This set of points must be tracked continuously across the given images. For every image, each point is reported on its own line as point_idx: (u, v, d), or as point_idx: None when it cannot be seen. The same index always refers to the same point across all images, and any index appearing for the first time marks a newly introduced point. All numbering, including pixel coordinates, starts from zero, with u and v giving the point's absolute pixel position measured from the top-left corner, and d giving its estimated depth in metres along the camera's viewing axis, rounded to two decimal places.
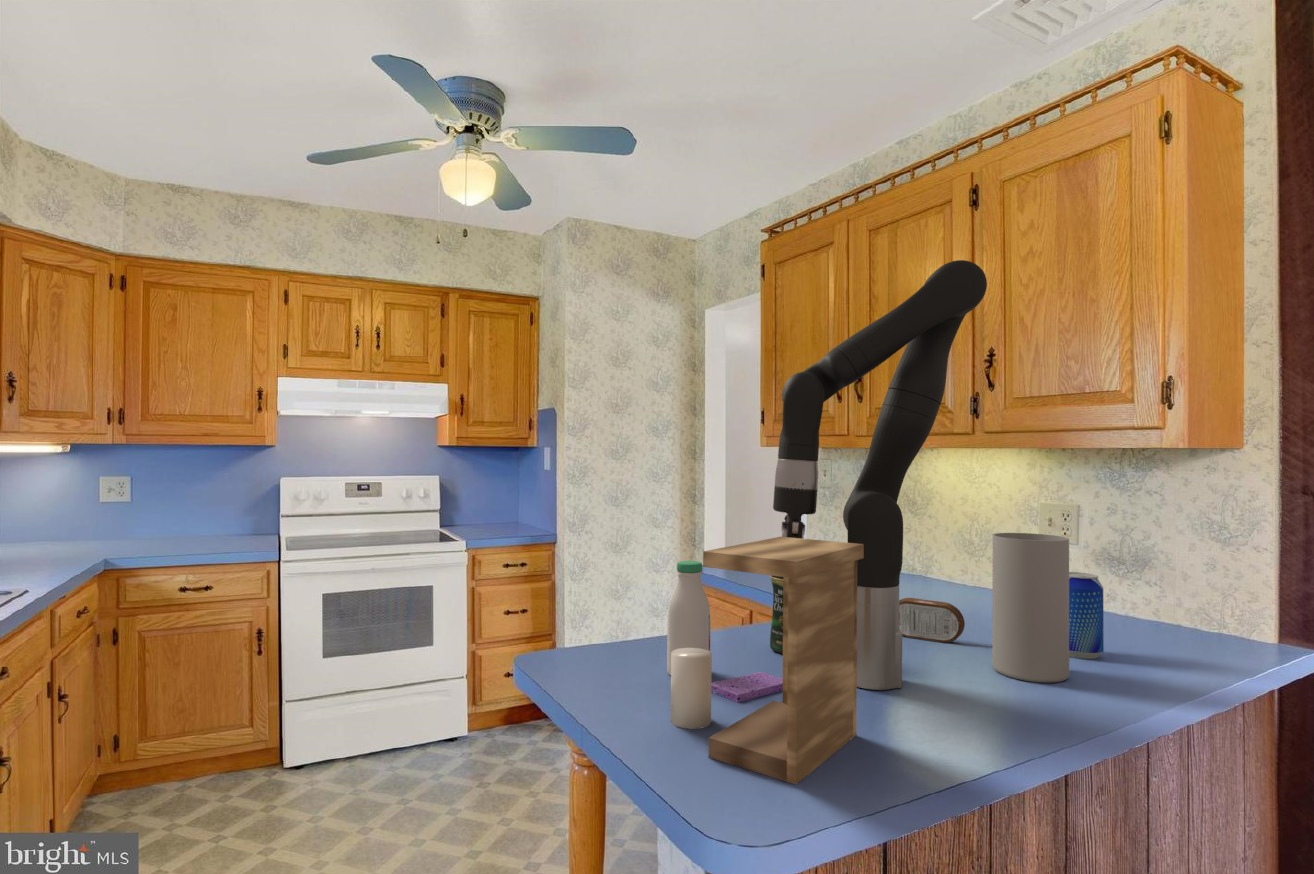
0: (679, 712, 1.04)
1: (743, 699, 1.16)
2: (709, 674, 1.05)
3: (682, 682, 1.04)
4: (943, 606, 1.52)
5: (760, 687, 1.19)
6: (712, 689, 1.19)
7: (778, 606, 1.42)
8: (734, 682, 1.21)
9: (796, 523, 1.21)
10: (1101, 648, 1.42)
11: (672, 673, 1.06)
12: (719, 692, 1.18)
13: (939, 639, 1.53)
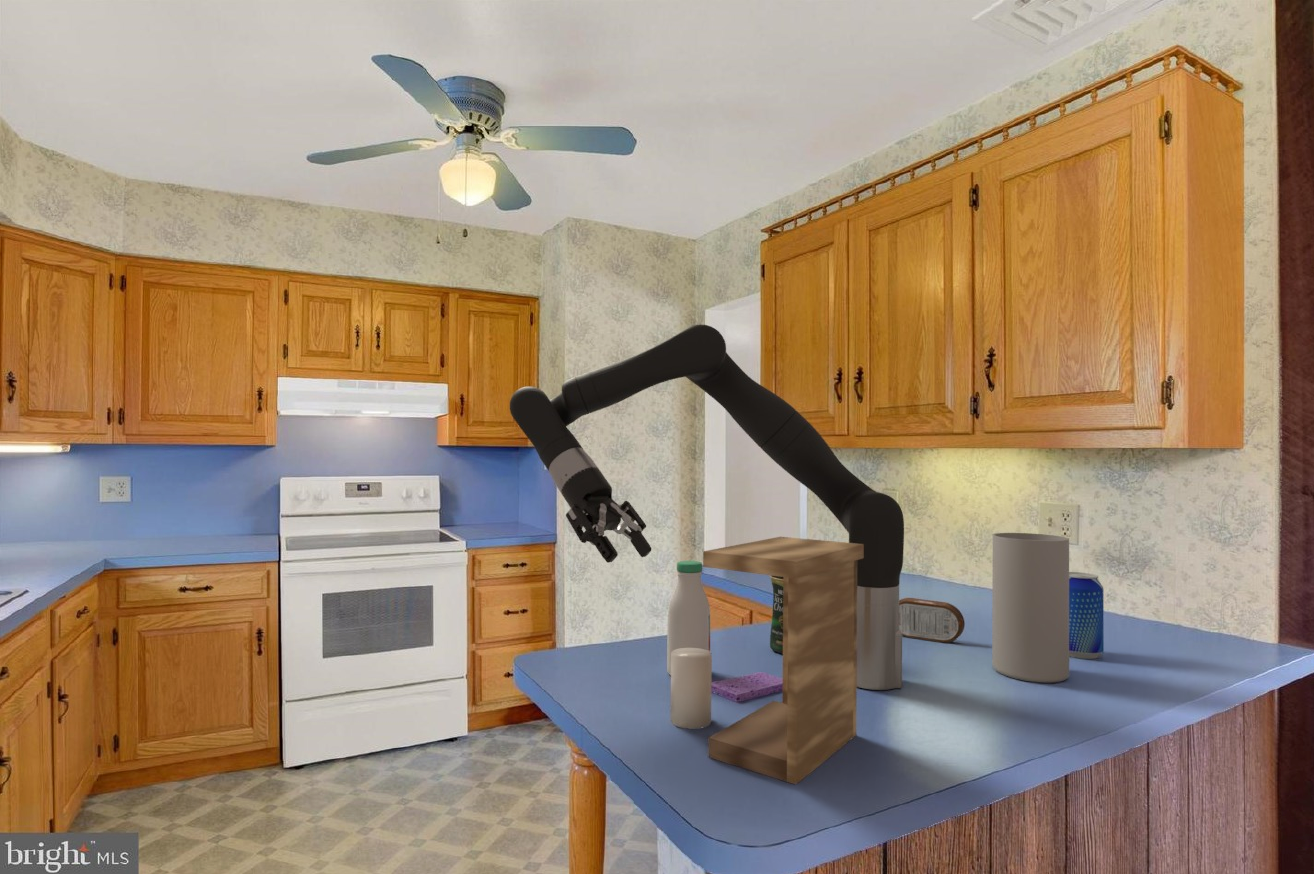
0: (679, 712, 1.04)
1: (742, 699, 1.16)
2: (709, 674, 1.05)
3: (682, 682, 1.04)
4: (943, 606, 1.52)
5: (760, 687, 1.19)
6: (712, 689, 1.20)
7: (778, 606, 1.42)
8: (734, 682, 1.21)
9: (570, 509, 1.13)
10: (1101, 648, 1.42)
11: (672, 673, 1.06)
12: (718, 692, 1.18)
13: (939, 639, 1.53)
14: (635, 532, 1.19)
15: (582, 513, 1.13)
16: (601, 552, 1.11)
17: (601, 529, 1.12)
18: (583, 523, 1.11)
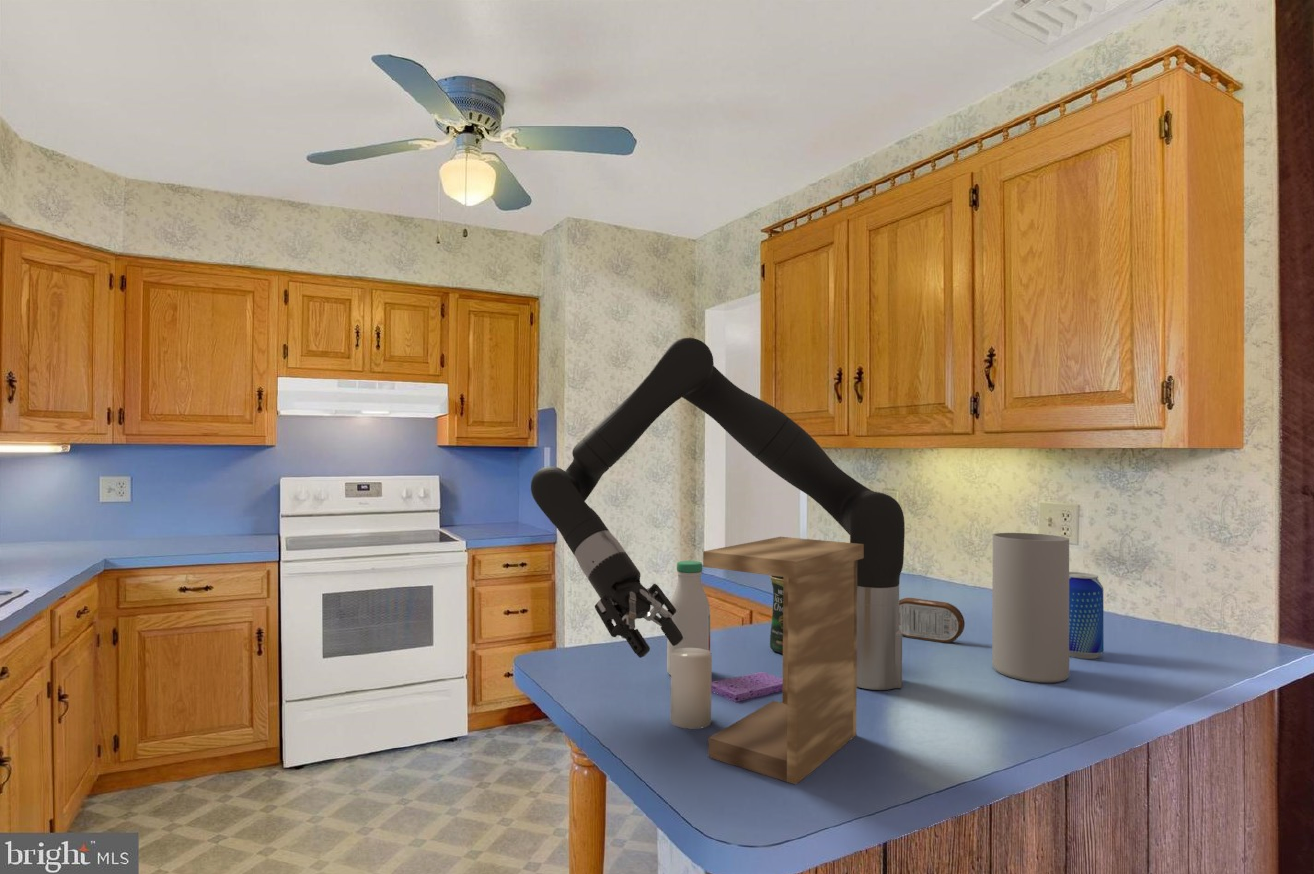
0: (679, 712, 1.04)
1: (741, 699, 1.16)
2: (709, 674, 1.05)
3: (683, 682, 1.04)
4: (943, 606, 1.52)
5: (759, 687, 1.19)
6: (712, 689, 1.20)
7: (778, 606, 1.42)
8: (734, 682, 1.21)
9: (599, 601, 1.09)
10: (1101, 648, 1.42)
11: (672, 673, 1.06)
12: (718, 692, 1.18)
13: (939, 639, 1.53)
14: (665, 619, 1.15)
15: (612, 605, 1.09)
16: (633, 647, 1.07)
17: (632, 622, 1.09)
18: (613, 617, 1.07)
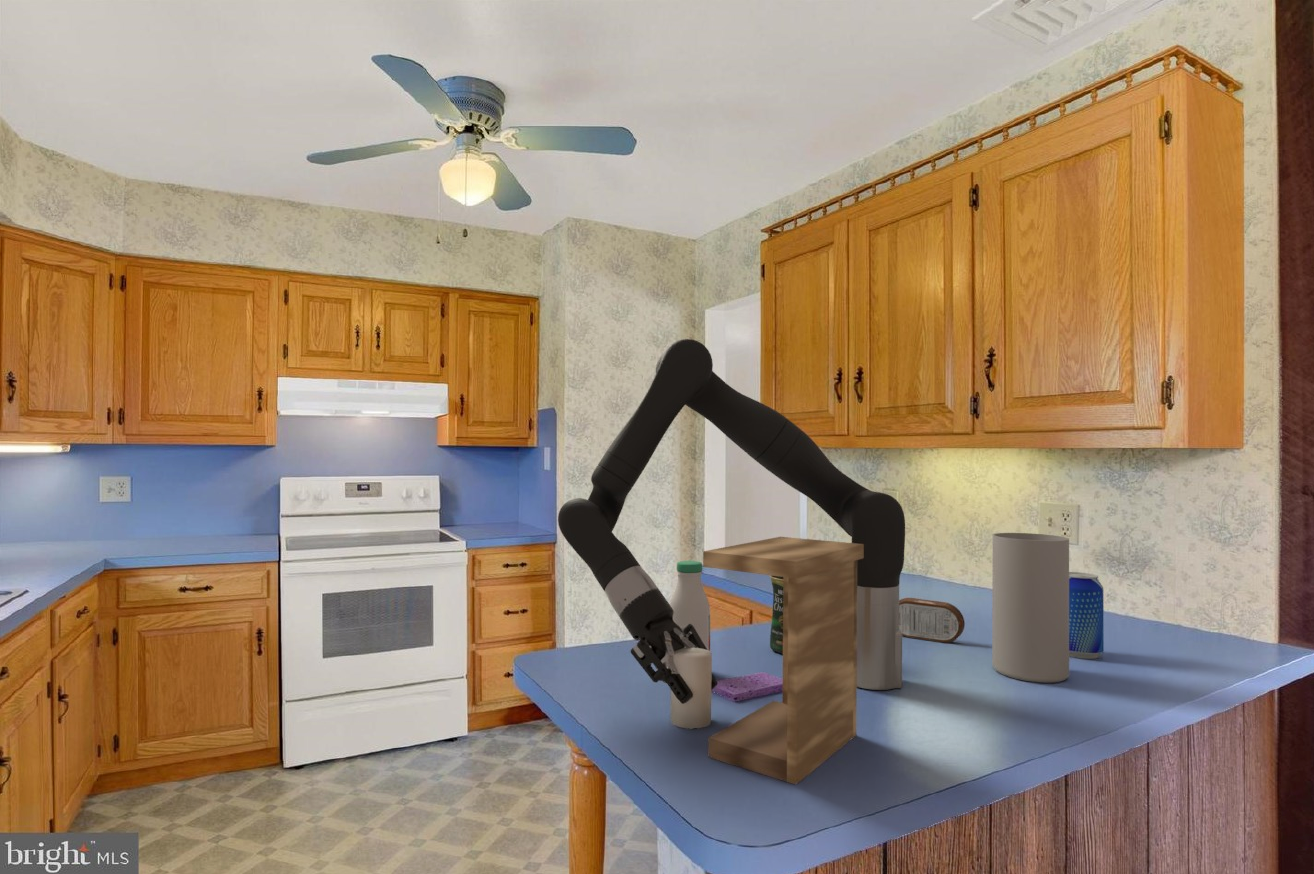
0: (679, 712, 1.04)
1: (740, 699, 1.16)
2: (709, 674, 1.05)
3: None
4: (943, 606, 1.52)
5: (758, 687, 1.19)
6: None
7: (778, 606, 1.42)
8: (733, 682, 1.21)
9: (636, 646, 1.05)
10: (1101, 648, 1.42)
11: None
12: (717, 691, 1.19)
13: (939, 639, 1.53)
14: None
15: (650, 650, 1.04)
16: (675, 693, 1.03)
17: (673, 665, 1.05)
18: (654, 663, 1.03)
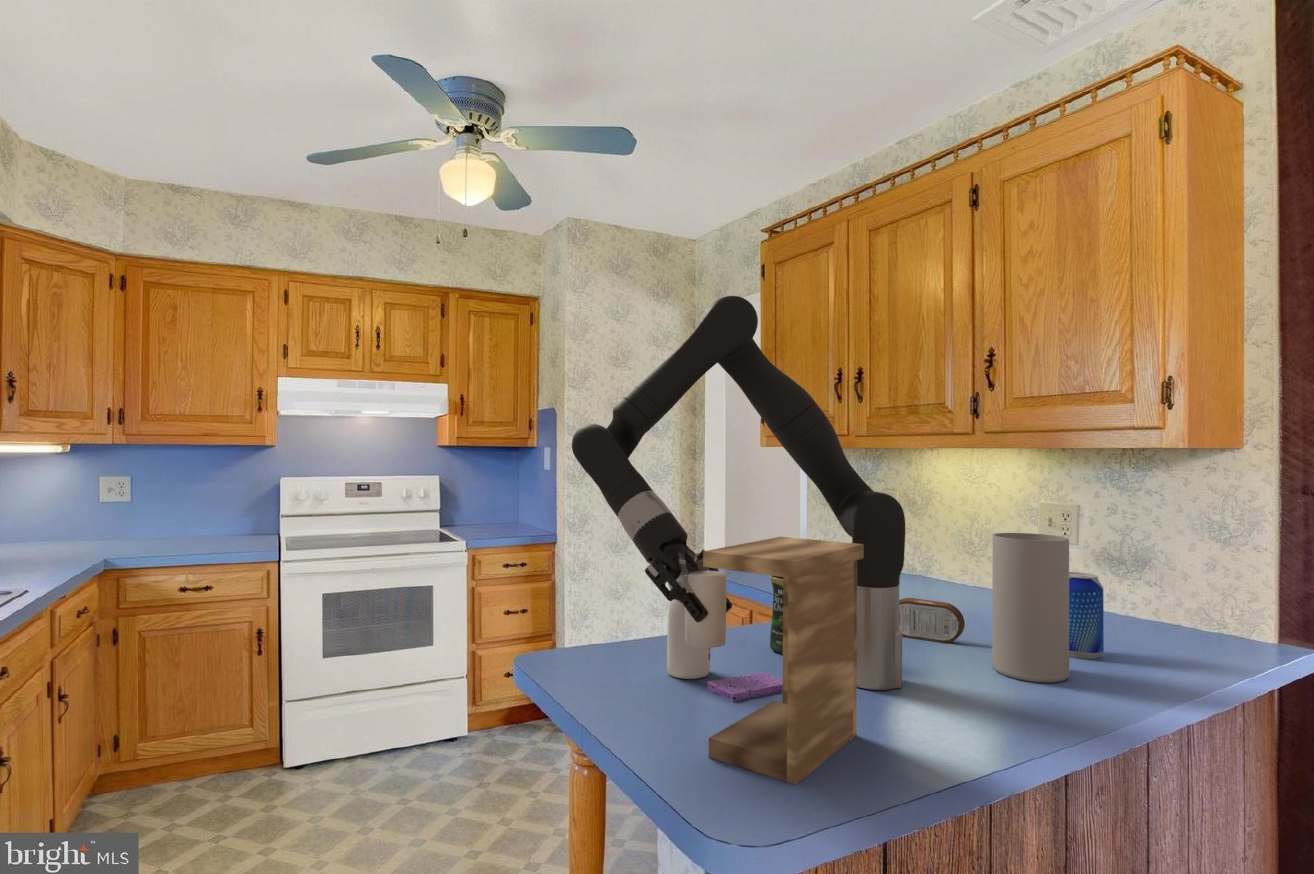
0: (694, 632, 1.03)
1: (739, 699, 1.16)
2: (724, 594, 1.04)
3: None
4: (943, 606, 1.52)
5: (758, 687, 1.19)
6: (710, 688, 1.20)
7: (778, 606, 1.42)
8: (733, 681, 1.21)
9: (650, 565, 1.03)
10: (1101, 648, 1.42)
11: None
12: (716, 691, 1.19)
13: (939, 639, 1.53)
14: None
15: (664, 569, 1.03)
16: (690, 611, 1.02)
17: (687, 585, 1.04)
18: (669, 581, 1.02)
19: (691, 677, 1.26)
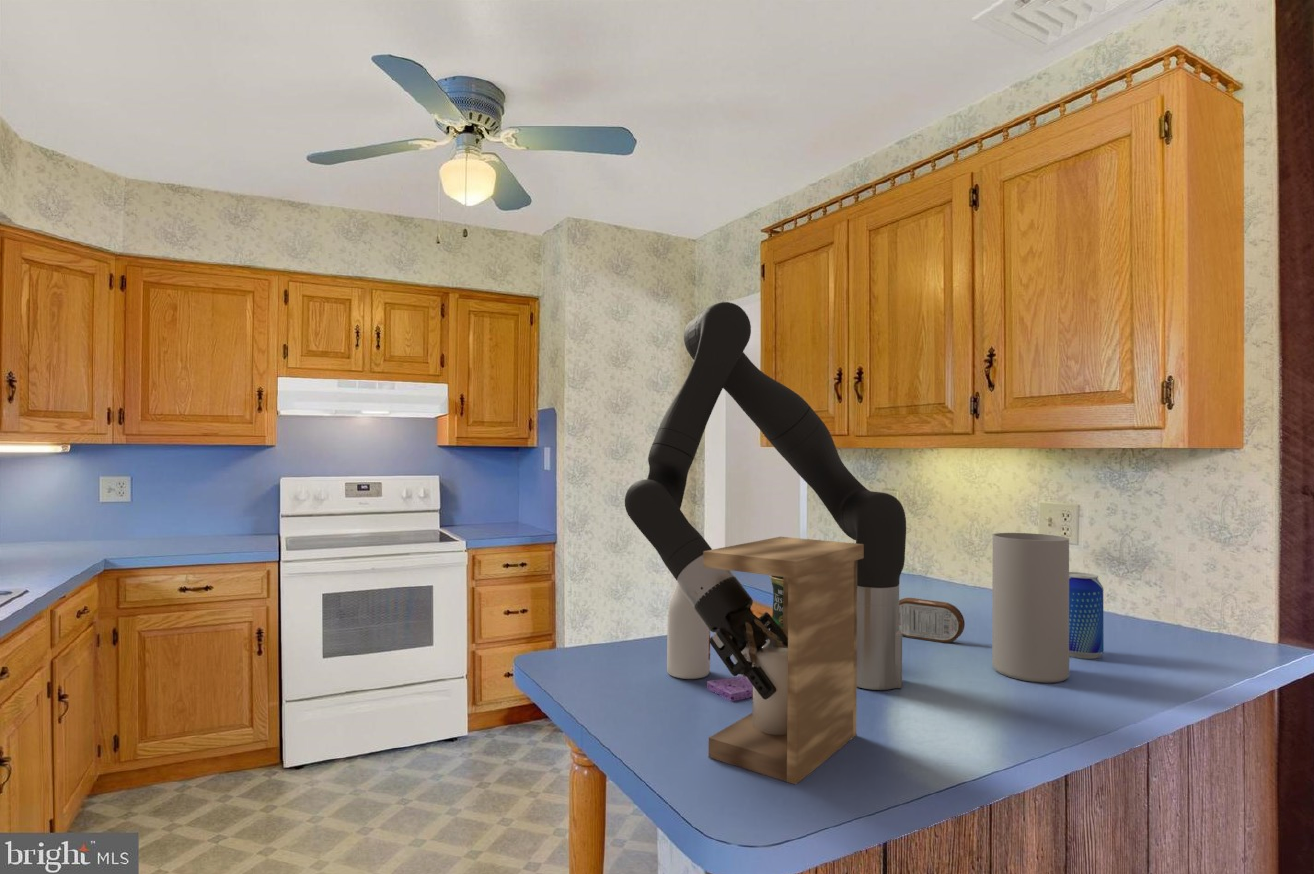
0: (764, 717, 0.96)
1: (737, 698, 1.16)
2: None
3: None
4: (943, 606, 1.52)
5: None
6: (710, 688, 1.20)
7: (778, 606, 1.42)
8: (733, 681, 1.22)
9: (715, 635, 0.97)
10: (1101, 648, 1.42)
11: None
12: (715, 690, 1.19)
13: (939, 639, 1.53)
14: None
15: (730, 640, 0.96)
16: (757, 687, 0.94)
17: (753, 658, 0.96)
18: (734, 654, 0.95)
19: (691, 677, 1.26)
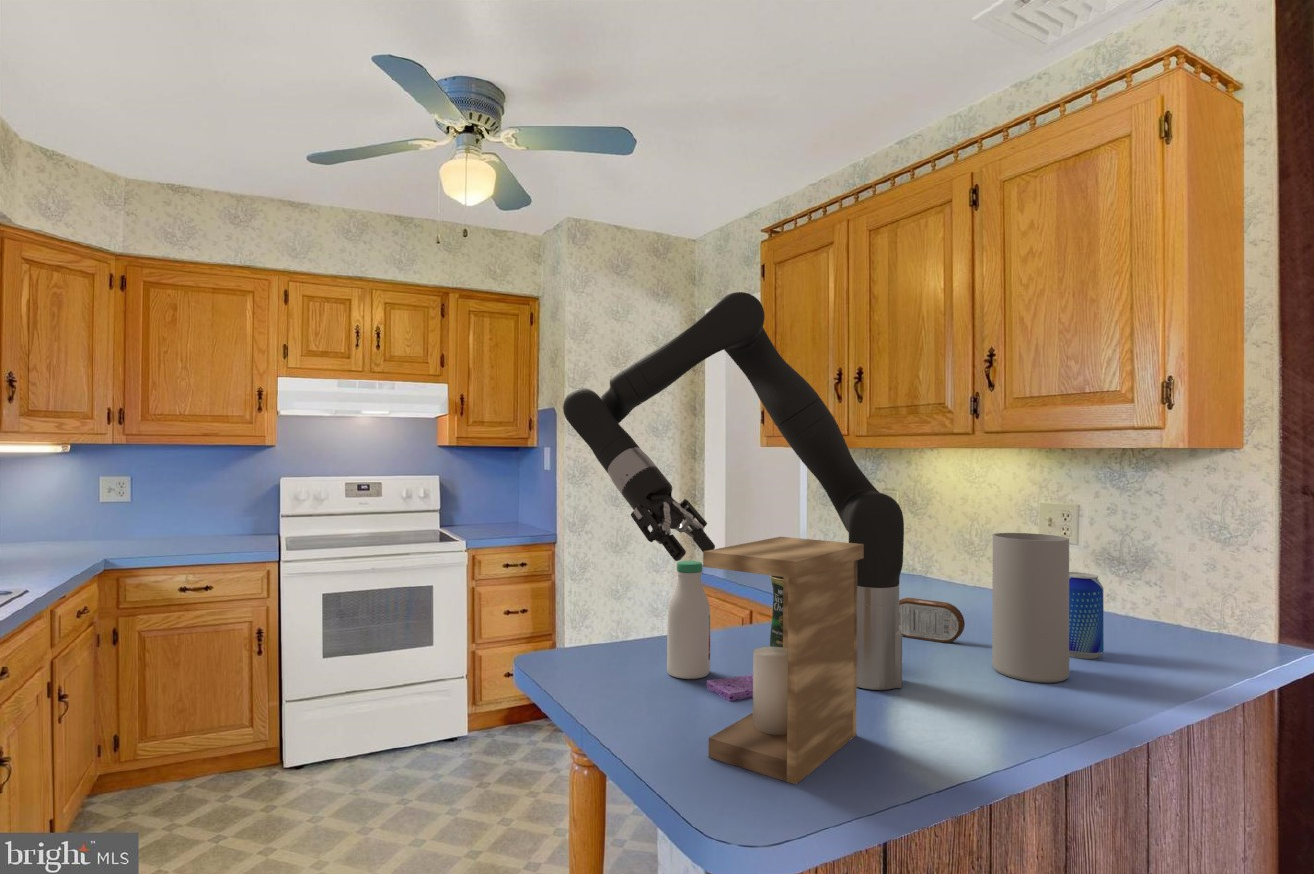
0: (764, 717, 0.96)
1: (736, 698, 1.16)
2: None
3: (768, 684, 0.96)
4: (943, 606, 1.52)
5: None
6: (709, 687, 1.21)
7: (778, 606, 1.42)
8: (732, 681, 1.22)
9: (635, 509, 1.13)
10: (1101, 648, 1.42)
11: (755, 674, 0.98)
12: (715, 690, 1.19)
13: (939, 639, 1.53)
14: (697, 530, 1.19)
15: (648, 512, 1.12)
16: (669, 551, 1.11)
17: (667, 528, 1.12)
18: (650, 522, 1.11)
19: (691, 677, 1.26)
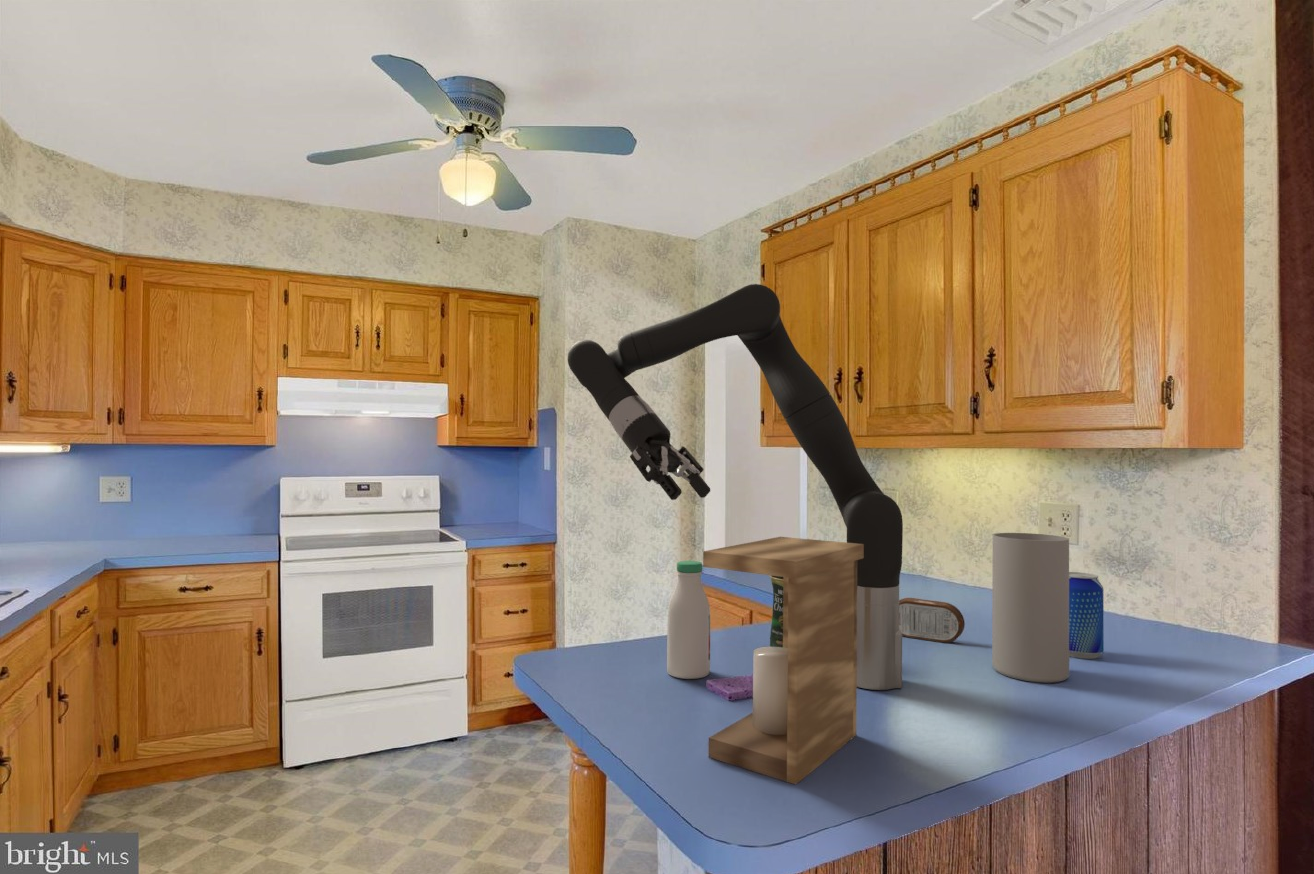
0: (764, 717, 0.96)
1: (735, 698, 1.16)
2: None
3: (768, 684, 0.96)
4: (943, 606, 1.52)
5: None
6: (709, 687, 1.21)
7: (778, 606, 1.42)
8: (732, 681, 1.22)
9: (634, 451, 1.18)
10: (1101, 648, 1.42)
11: (755, 674, 0.98)
12: (714, 690, 1.19)
13: (939, 639, 1.53)
14: (694, 474, 1.24)
15: (646, 454, 1.18)
16: (666, 490, 1.16)
17: (664, 469, 1.18)
18: (648, 462, 1.16)
19: (691, 677, 1.26)
